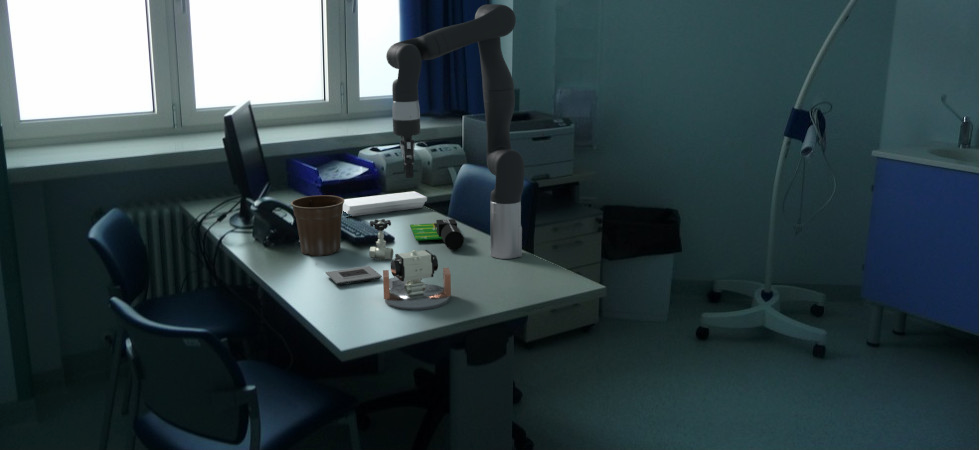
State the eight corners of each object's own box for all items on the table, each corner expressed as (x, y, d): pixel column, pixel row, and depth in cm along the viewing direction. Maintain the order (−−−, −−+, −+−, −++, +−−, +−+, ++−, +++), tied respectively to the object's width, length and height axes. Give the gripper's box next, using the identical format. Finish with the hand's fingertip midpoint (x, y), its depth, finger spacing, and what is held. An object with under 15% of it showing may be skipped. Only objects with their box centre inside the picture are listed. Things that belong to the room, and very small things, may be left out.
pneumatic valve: (391, 294, 237) (389, 250, 234) (432, 287, 241) (431, 245, 238) (398, 300, 232) (396, 256, 229) (440, 294, 237) (439, 250, 233)
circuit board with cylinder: (409, 209, 304) (453, 207, 307) (409, 229, 306) (453, 227, 308) (419, 232, 276) (467, 230, 278) (420, 254, 277) (467, 251, 280)
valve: (388, 263, 268) (387, 225, 265) (367, 262, 269) (366, 223, 266) (395, 257, 274) (394, 219, 271) (374, 256, 275) (373, 218, 272)
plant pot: (300, 261, 270) (297, 209, 266) (288, 247, 285) (285, 198, 280) (352, 254, 277) (350, 204, 273) (339, 241, 291) (336, 193, 287)
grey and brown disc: (447, 287, 246) (447, 261, 244) (452, 308, 230) (452, 281, 228) (383, 290, 244) (382, 264, 242) (384, 312, 228) (383, 284, 226)
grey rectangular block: (401, 283, 250) (401, 275, 249) (407, 286, 248) (406, 277, 248) (387, 287, 247) (386, 279, 246) (392, 290, 245) (392, 281, 244)
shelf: (339, 213, 327) (338, 199, 326) (414, 204, 341) (414, 191, 340) (350, 220, 318) (349, 206, 316) (427, 211, 331) (426, 197, 330)
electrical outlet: (336, 289, 246) (336, 281, 245) (325, 279, 255) (325, 271, 254) (382, 283, 252) (381, 274, 251) (369, 272, 261) (369, 264, 260)
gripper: (421, 120, 240) (423, 179, 245) (418, 112, 254) (420, 168, 258) (393, 121, 239) (396, 180, 244) (391, 113, 253) (393, 170, 257)
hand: (408, 174), depth 251 cm, fingers open, 8 cm apart
